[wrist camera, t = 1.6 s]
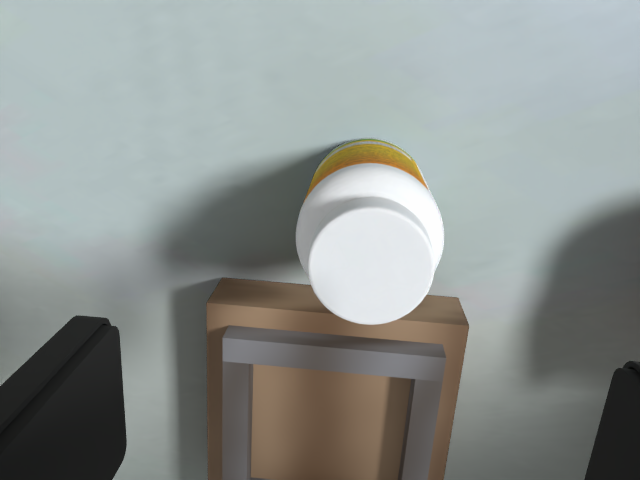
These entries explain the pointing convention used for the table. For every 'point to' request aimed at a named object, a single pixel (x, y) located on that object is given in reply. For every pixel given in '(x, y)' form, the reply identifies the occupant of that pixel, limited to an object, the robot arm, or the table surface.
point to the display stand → (328, 387)
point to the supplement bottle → (369, 232)
